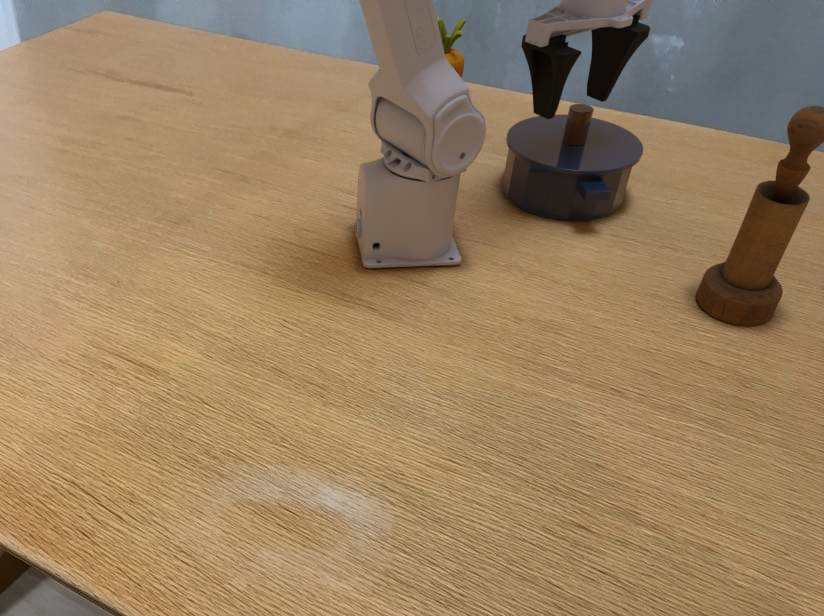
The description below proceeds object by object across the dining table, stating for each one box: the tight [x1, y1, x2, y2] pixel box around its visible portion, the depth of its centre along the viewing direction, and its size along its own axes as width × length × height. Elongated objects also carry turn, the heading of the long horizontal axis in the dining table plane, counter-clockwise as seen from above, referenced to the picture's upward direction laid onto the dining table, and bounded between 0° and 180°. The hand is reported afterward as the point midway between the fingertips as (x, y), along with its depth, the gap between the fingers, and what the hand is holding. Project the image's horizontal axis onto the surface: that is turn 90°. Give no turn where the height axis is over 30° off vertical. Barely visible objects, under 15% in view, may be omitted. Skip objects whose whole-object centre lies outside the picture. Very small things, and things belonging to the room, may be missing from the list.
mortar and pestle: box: [695, 105, 824, 327], centre depth 68 cm, size 7×6×18 cm
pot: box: [501, 148, 633, 222], centre depth 88 cm, size 13×18×5 cm
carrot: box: [436, 16, 467, 79], centre depth 93 cm, size 5×5×15 cm
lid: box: [505, 103, 644, 175], centre depth 85 cm, size 14×14×5 cm
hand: (570, 106), depth 82 cm, fingers open, 7 cm apart
